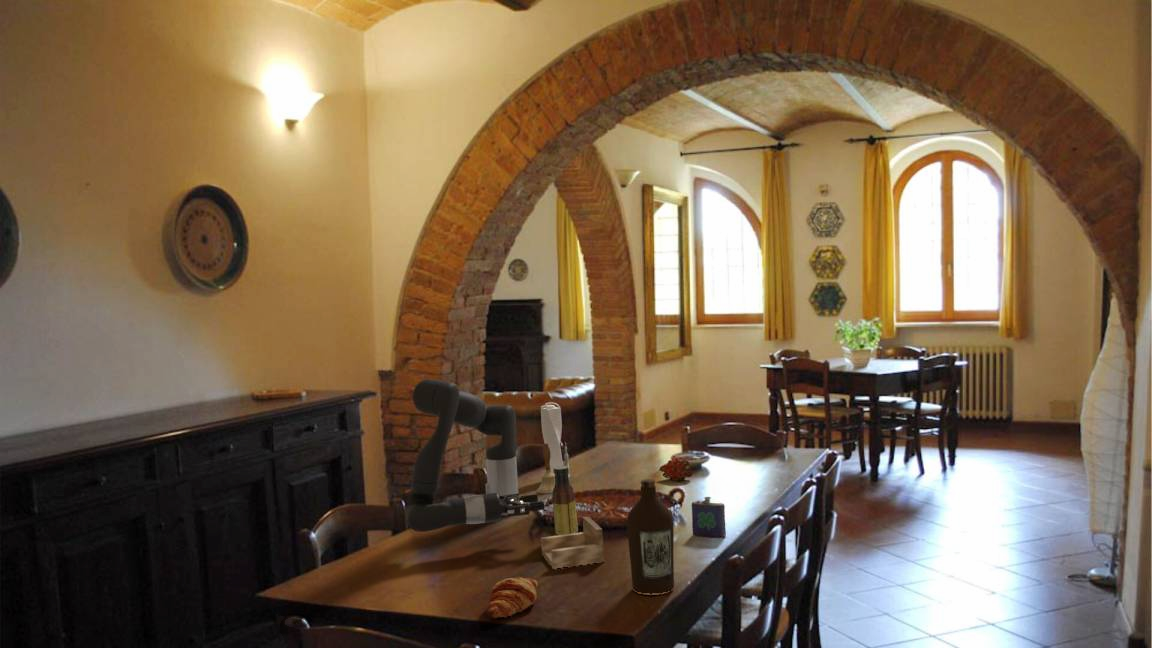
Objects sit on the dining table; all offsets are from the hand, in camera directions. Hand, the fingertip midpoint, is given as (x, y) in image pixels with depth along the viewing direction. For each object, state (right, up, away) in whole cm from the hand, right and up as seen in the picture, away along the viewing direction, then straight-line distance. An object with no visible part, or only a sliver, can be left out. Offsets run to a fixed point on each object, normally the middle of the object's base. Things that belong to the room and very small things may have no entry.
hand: (540, 501), depth 252 cm
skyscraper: (+3, -7, +74) cm, 75 cm away
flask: (+45, -9, -3) cm, 46 cm away
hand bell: (+1, -8, +59) cm, 59 cm away
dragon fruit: (+44, -5, +64) cm, 77 cm away
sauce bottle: (+7, -11, +2) cm, 13 cm away
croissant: (-4, -14, -47) cm, 50 cm away
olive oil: (+27, -12, -42) cm, 51 cm away
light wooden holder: (+9, -11, -16) cm, 21 cm away
